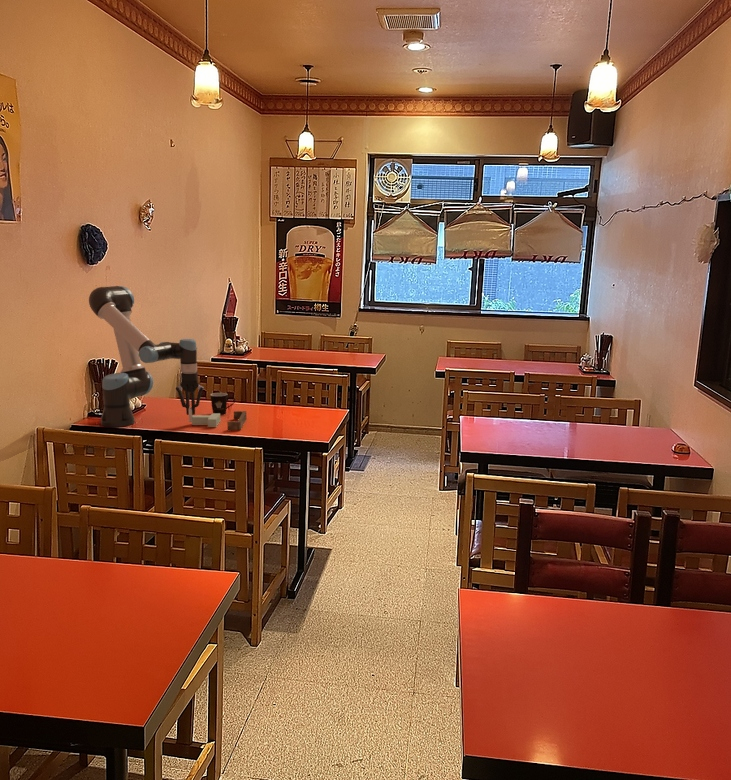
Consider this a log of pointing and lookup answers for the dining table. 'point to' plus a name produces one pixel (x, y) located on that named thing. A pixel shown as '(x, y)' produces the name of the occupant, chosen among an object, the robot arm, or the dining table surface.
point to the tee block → (206, 419)
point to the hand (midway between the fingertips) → (191, 421)
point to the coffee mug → (220, 402)
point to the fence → (237, 424)
